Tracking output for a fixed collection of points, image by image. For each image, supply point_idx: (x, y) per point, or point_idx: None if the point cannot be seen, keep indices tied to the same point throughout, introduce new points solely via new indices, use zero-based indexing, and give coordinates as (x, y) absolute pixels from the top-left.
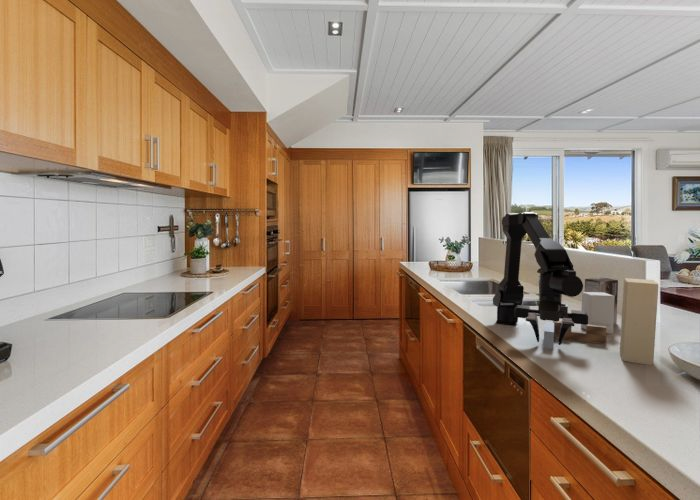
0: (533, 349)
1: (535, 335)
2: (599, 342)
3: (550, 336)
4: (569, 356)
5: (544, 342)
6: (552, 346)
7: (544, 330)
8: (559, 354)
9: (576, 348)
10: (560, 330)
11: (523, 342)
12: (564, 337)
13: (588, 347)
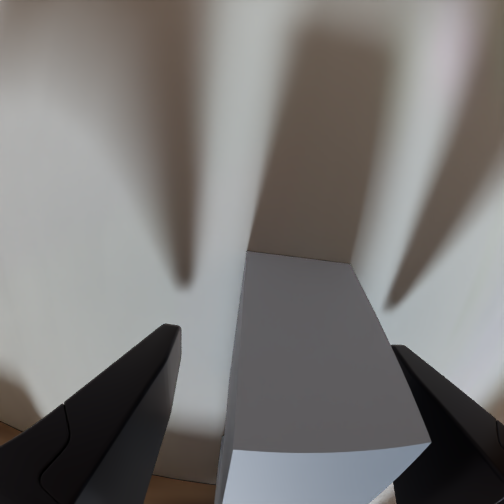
0: (462, 177)
1: (457, 389)
2: (10, 430)
3: (299, 372)
4: (99, 47)
5: (361, 302)
6: (257, 270)
7: (401, 470)
8: (198, 68)
9: (58, 344)
10: (115, 497)
11: (462, 358)
12: (155, 483)
13: (16, 374)
